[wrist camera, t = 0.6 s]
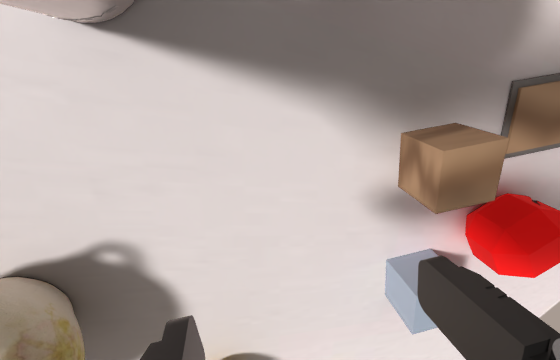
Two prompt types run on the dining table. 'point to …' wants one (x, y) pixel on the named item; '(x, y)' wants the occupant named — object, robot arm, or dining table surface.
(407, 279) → the slate cube
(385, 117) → the dining table surface
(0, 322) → the sugar bowl
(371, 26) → the dining table surface
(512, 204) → the ball
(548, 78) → the walnut swatch
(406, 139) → the walnut cube
